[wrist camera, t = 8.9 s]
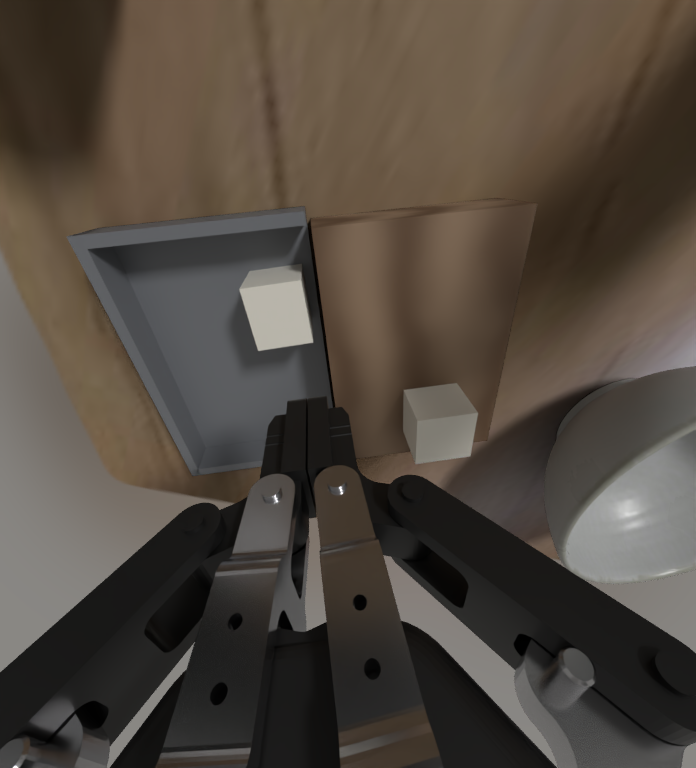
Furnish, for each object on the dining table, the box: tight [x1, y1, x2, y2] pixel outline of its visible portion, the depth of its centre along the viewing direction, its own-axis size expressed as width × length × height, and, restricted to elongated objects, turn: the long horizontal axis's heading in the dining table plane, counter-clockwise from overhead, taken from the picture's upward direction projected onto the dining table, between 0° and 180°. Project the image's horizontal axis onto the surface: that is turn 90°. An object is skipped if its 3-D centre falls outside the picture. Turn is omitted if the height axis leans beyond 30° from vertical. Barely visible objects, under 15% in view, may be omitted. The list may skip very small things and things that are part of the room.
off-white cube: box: [403, 383, 478, 464], centre depth 26 cm, size 4×4×4 cm
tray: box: [67, 206, 333, 476], centre depth 27 cm, size 14×22×4 cm, turn 5°
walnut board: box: [311, 198, 538, 459], centre depth 27 cm, size 14×20×5 cm
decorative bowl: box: [544, 366, 696, 584], centre depth 34 cm, size 27×27×12 cm
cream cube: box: [239, 264, 313, 351], centre depth 24 cm, size 4×4×4 cm
